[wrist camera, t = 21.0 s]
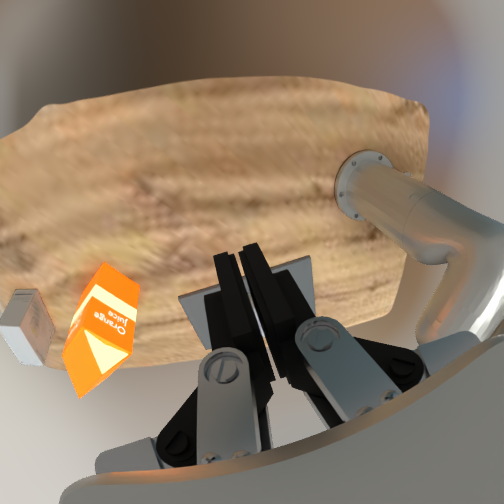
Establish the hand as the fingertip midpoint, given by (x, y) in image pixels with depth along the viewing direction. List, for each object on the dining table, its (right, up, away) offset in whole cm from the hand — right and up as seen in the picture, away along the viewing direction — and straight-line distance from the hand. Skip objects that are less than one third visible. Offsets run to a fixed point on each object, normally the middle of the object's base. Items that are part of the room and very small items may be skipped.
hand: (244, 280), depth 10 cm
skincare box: (-42, -10, +30) cm, 53 cm away
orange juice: (-24, -5, +32) cm, 40 cm away
